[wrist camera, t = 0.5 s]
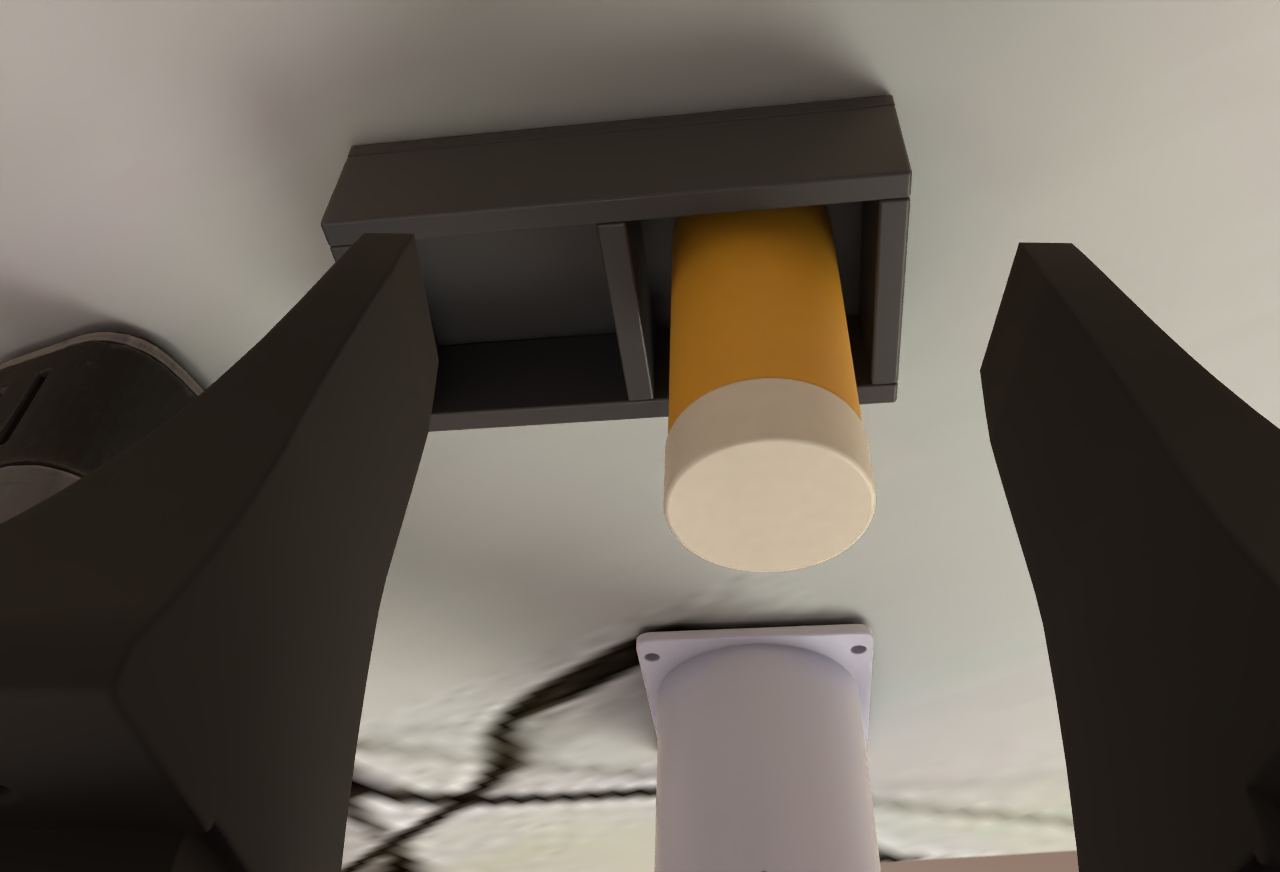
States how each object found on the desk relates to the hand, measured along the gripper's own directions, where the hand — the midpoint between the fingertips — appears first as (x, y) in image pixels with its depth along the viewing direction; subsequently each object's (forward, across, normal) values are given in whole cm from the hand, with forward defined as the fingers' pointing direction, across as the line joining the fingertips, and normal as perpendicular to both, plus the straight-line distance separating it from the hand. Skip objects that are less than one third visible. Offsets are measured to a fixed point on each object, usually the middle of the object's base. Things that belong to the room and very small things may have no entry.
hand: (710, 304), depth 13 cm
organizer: (+10, +1, +6) cm, 12 cm away
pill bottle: (+10, -1, +6) cm, 11 cm away
